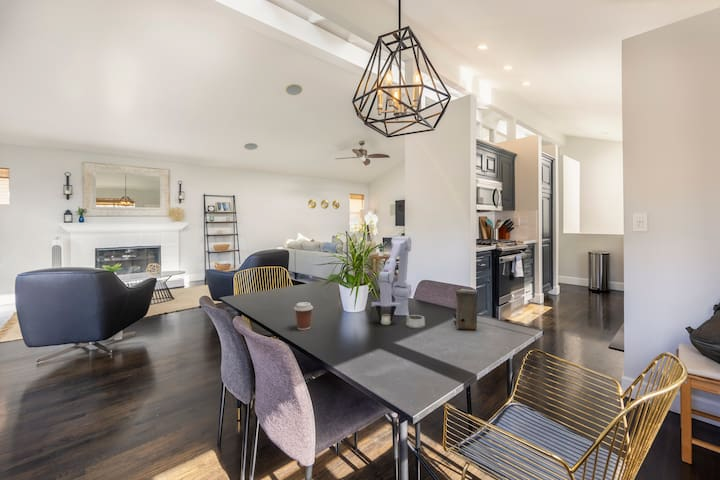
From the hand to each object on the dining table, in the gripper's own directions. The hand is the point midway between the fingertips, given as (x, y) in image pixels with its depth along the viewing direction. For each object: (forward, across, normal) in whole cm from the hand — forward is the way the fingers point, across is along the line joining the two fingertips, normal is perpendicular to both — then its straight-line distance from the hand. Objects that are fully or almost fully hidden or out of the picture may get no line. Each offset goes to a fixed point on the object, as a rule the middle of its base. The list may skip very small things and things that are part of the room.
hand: (385, 320), depth 170 cm
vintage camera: (+2, +39, +1) cm, 39 cm away
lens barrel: (+1, +15, -2) cm, 15 cm away
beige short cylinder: (+1, 0, 0) cm, 1 cm away
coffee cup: (+2, -40, -12) cm, 42 cm away
